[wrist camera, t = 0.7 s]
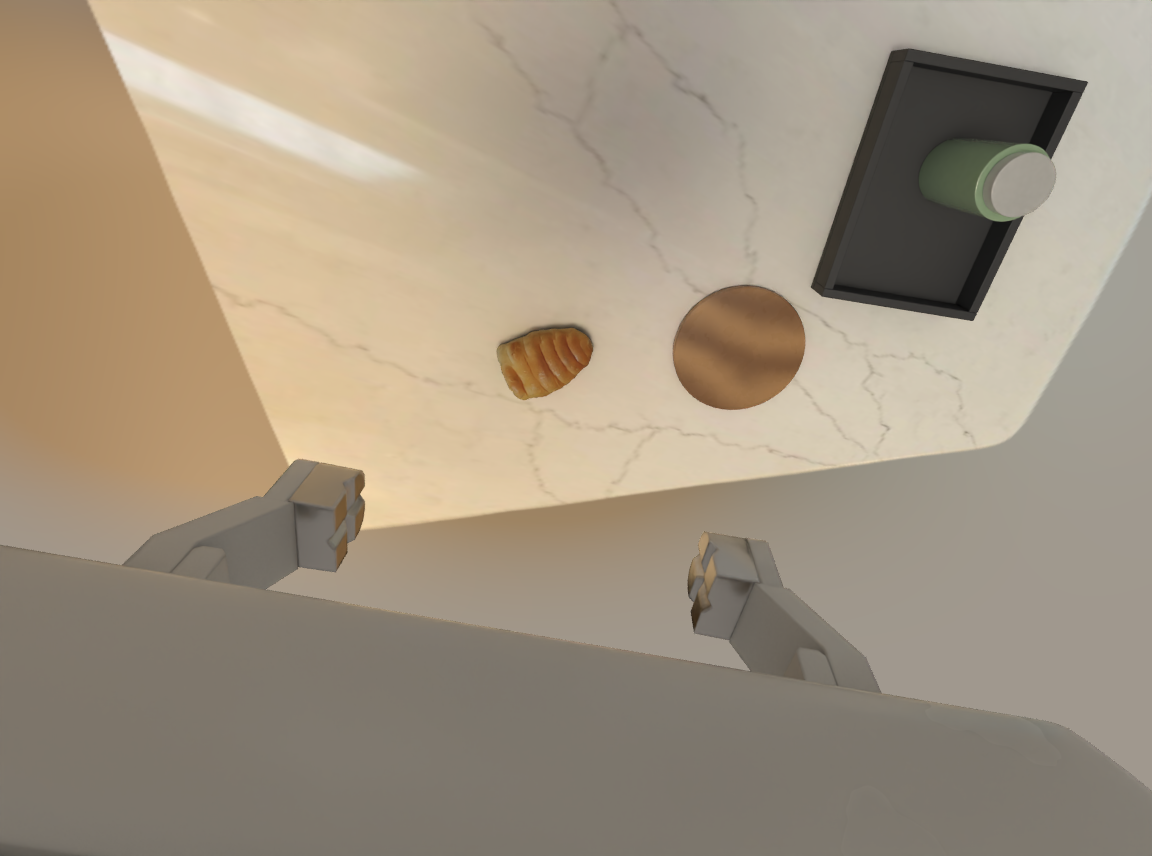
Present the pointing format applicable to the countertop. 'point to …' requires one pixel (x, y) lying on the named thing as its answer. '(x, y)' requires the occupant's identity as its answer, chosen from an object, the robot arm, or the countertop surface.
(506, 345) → the pastry
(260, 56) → the countertop surface
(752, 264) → the countertop surface
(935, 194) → the salt shaker
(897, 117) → the tray
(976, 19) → the countertop surface
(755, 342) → the coaster
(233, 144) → the countertop surface
